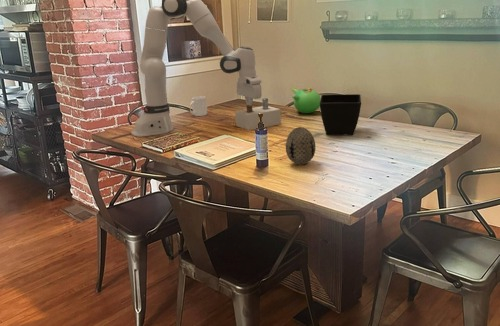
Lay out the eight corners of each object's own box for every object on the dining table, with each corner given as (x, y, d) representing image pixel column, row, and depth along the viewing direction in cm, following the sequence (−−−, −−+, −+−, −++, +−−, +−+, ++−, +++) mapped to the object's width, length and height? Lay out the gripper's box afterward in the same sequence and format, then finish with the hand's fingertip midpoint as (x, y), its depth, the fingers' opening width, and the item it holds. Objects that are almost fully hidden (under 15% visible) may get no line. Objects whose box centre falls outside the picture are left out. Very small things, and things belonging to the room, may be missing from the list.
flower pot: (360, 137, 213) (361, 101, 208) (319, 137, 217) (319, 102, 212) (359, 127, 231) (360, 94, 225) (321, 127, 234) (321, 94, 229)
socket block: (249, 130, 237) (248, 115, 234) (236, 125, 249) (235, 111, 246) (281, 123, 246) (280, 109, 244) (267, 119, 258) (266, 105, 255)
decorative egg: (321, 162, 183) (321, 125, 178) (304, 170, 174) (303, 132, 170) (297, 157, 190) (296, 122, 185) (280, 165, 182) (278, 128, 177)
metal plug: (265, 116, 246) (264, 99, 243) (261, 115, 249) (261, 99, 246) (269, 115, 248) (269, 98, 245) (266, 114, 250) (266, 98, 247)
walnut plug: (249, 122, 242) (248, 106, 239) (246, 121, 245) (245, 105, 242) (254, 121, 244) (253, 105, 241) (251, 120, 246) (250, 104, 243)
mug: (186, 116, 277) (184, 99, 274) (201, 112, 285) (199, 95, 282) (195, 118, 272) (193, 100, 268) (210, 114, 280) (208, 96, 276)
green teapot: (322, 115, 259) (322, 89, 255) (293, 116, 260) (292, 91, 255) (318, 108, 276) (318, 84, 272) (290, 110, 277) (290, 86, 272)
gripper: (232, 77, 244) (234, 103, 249) (252, 81, 227) (253, 108, 232) (243, 76, 247) (244, 101, 251) (263, 80, 230) (264, 107, 235)
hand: (249, 105), depth 241 cm, fingers closed, pressing on walnut plug
